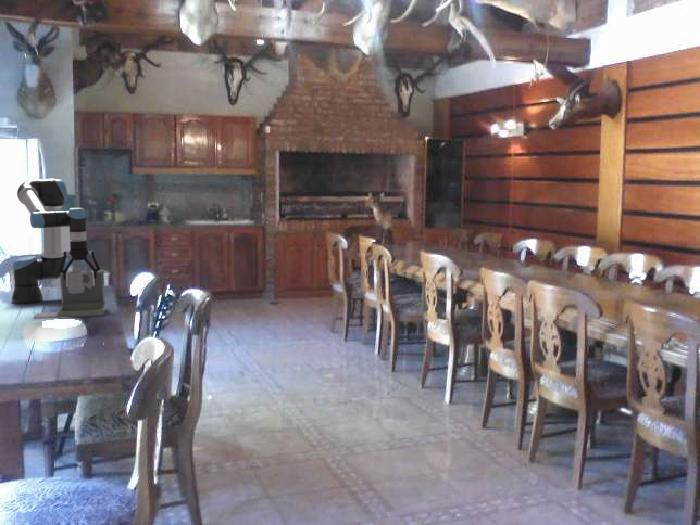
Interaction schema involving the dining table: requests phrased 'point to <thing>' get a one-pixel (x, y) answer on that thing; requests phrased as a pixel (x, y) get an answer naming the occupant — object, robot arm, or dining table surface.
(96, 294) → the case
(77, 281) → the mug
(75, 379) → the dining table surface
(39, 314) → the trivet
